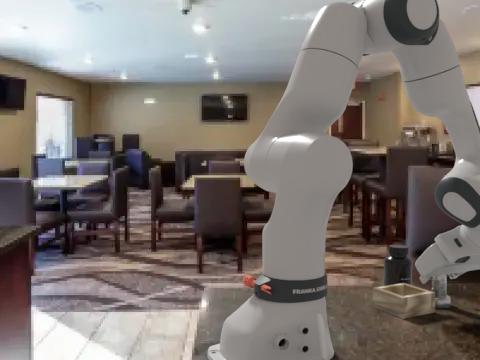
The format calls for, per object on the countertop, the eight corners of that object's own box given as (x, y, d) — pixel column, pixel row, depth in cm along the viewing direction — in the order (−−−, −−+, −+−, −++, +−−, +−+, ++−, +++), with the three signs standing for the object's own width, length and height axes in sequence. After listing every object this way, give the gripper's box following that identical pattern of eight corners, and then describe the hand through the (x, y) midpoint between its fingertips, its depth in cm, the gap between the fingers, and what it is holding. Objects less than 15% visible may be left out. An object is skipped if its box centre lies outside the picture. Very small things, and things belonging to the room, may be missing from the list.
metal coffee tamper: (439, 309, 117) (440, 261, 116) (422, 303, 121) (423, 257, 121) (455, 306, 119) (456, 258, 118) (438, 300, 123) (438, 255, 123)
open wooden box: (402, 318, 110) (403, 298, 110) (372, 307, 119) (373, 287, 118) (434, 312, 114) (435, 292, 114) (403, 301, 123) (403, 282, 123)
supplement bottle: (407, 299, 125) (408, 249, 124) (379, 294, 129) (380, 247, 128) (415, 292, 131) (415, 245, 130) (388, 288, 134) (388, 242, 134)
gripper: (497, 228, 118) (460, 262, 127) (432, 235, 108) (397, 271, 118) (515, 251, 114) (475, 284, 123) (448, 260, 105) (412, 296, 114)
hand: (437, 278), depth 120 cm, fingers open, 8 cm apart
